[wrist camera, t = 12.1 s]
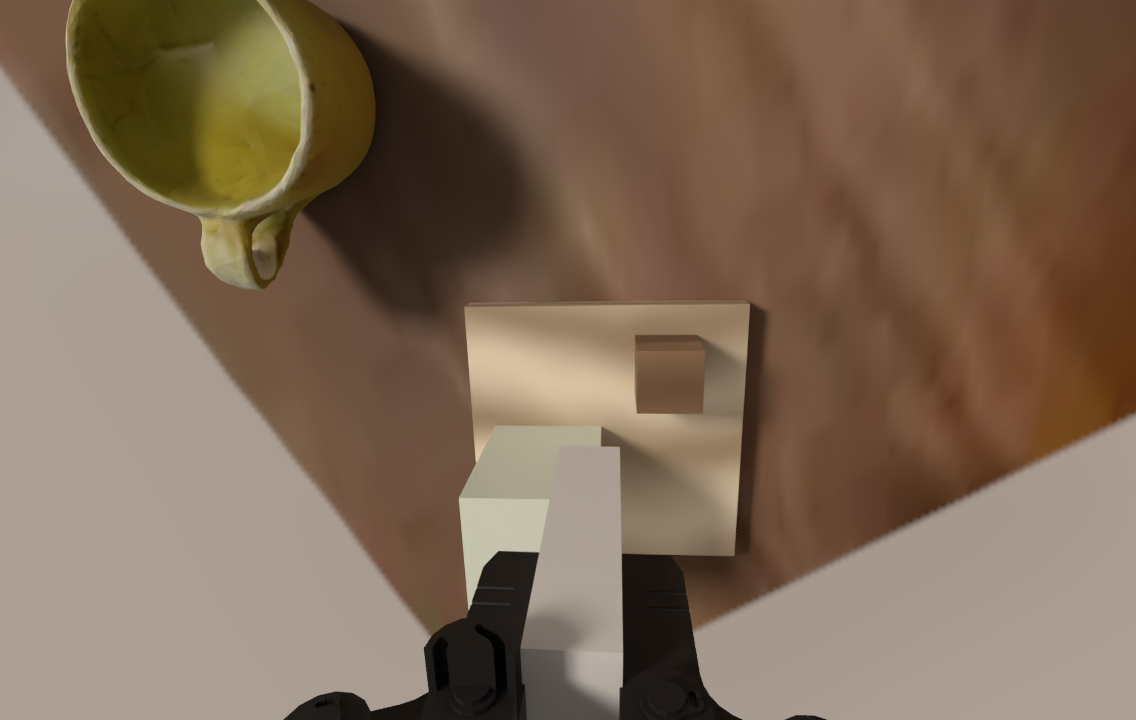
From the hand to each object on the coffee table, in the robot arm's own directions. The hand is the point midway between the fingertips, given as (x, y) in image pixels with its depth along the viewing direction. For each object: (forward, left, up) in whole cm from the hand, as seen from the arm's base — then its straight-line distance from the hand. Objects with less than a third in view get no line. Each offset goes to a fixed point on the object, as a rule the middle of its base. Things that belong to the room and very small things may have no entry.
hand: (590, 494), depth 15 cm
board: (+5, 0, -16) cm, 17 cm away
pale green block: (+7, -3, -15) cm, 17 cm away
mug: (-10, -15, -16) cm, 24 cm away
